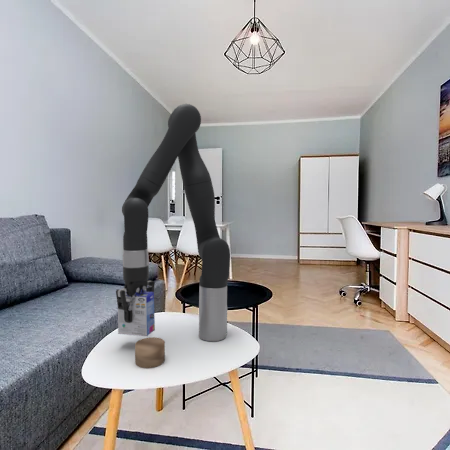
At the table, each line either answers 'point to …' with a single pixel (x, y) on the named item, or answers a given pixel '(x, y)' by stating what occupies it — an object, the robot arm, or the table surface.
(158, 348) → the walnut block
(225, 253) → the robot arm
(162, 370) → the table surface
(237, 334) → the table surface
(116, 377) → the table surface
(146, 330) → the ink cartridge box
